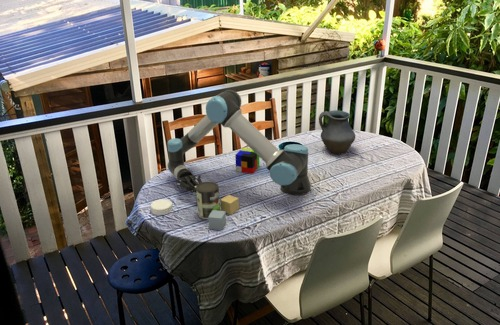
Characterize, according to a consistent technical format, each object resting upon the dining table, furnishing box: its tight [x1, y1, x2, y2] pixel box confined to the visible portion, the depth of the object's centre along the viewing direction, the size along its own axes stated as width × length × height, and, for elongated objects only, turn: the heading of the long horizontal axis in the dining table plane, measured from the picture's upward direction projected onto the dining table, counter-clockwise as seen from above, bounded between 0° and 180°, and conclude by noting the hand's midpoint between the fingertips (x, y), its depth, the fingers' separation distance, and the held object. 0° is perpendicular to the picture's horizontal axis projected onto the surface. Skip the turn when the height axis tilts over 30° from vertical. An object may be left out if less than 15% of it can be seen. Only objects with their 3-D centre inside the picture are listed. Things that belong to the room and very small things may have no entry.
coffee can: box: [196, 181, 221, 220], centre depth 205 cm, size 10×10×14 cm
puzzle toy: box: [234, 147, 260, 175], centre depth 248 cm, size 10×10×10 cm
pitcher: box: [318, 109, 356, 155], centre depth 264 cm, size 21×22×25 cm
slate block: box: [207, 210, 227, 231], centre depth 197 cm, size 6×6×6 cm
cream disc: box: [150, 198, 173, 216], centre depth 211 cm, size 10×10×4 cm
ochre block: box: [219, 194, 240, 215], centre depth 209 cm, size 6×6×6 cm
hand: (201, 193), depth 211 cm, fingers closed
